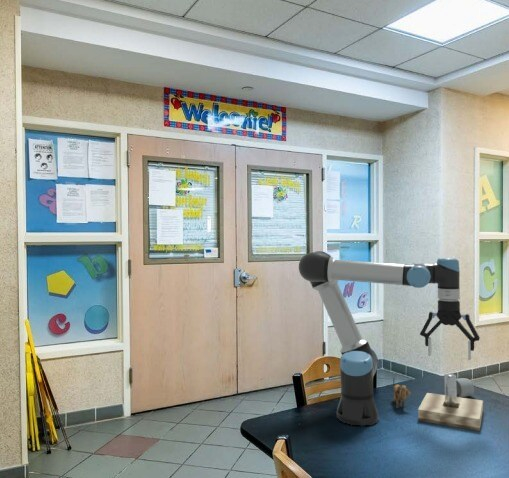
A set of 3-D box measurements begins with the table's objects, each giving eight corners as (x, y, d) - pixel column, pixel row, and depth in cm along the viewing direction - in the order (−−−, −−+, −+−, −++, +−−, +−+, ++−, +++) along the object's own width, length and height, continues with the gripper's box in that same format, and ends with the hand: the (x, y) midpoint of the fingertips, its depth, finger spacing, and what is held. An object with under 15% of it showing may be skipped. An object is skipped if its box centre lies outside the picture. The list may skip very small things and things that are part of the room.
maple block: (418, 420, 163) (417, 409, 163) (427, 402, 181) (427, 392, 181) (479, 431, 153) (479, 419, 153) (483, 411, 171) (482, 400, 171)
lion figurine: (412, 410, 173) (412, 387, 173) (398, 411, 173) (398, 387, 173) (399, 397, 188) (399, 375, 188) (386, 397, 188) (386, 376, 188)
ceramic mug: (476, 397, 185) (475, 378, 185) (462, 400, 182) (461, 381, 182) (455, 390, 195) (454, 372, 195) (441, 393, 192) (440, 375, 192)
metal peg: (444, 413, 166) (443, 375, 166) (446, 410, 170) (445, 373, 170) (456, 415, 164) (455, 377, 164) (457, 412, 168) (456, 374, 168)
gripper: (411, 299, 170) (412, 355, 170) (485, 303, 158) (486, 363, 158) (415, 296, 177) (416, 351, 177) (486, 300, 164) (487, 358, 164)
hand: (449, 357), depth 167 cm, fingers open, 13 cm apart
